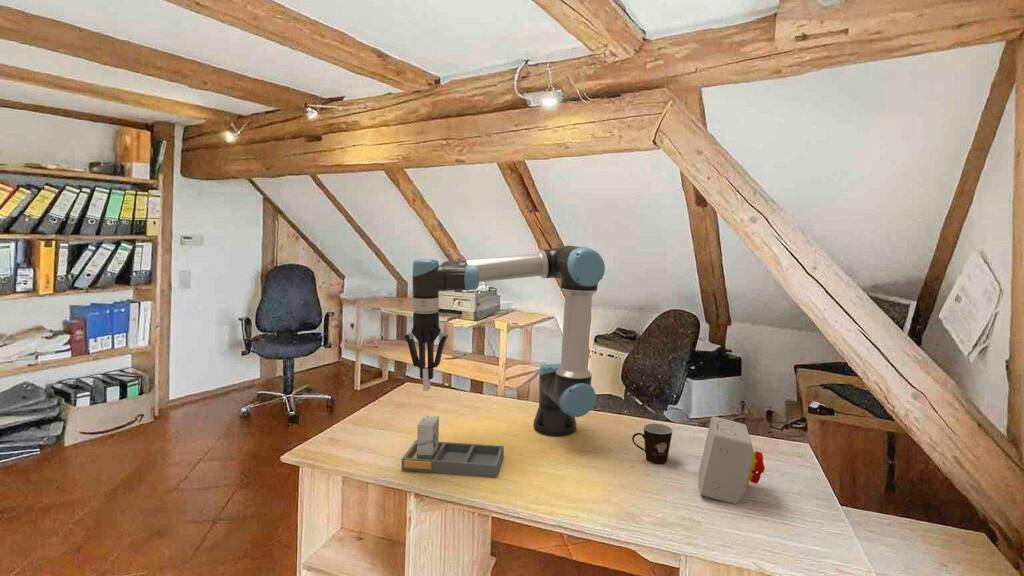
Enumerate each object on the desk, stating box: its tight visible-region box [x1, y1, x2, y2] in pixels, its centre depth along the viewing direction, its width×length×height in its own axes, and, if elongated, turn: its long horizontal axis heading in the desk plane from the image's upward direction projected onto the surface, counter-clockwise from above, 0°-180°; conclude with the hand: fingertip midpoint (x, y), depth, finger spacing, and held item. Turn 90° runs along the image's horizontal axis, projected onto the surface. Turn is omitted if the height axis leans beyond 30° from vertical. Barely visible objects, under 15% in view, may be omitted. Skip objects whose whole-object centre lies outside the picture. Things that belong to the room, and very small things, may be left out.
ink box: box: [416, 415, 440, 460], centre depth 167 cm, size 9×5×12 cm, turn 176°
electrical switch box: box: [698, 415, 766, 505], centre depth 151 cm, size 15×15×20 cm
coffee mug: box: [631, 422, 674, 465], centre depth 172 cm, size 12×9×10 cm
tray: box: [401, 439, 505, 478], centre depth 167 cm, size 28×15×4 cm, turn 83°
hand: (426, 389), depth 166 cm, fingers closed
